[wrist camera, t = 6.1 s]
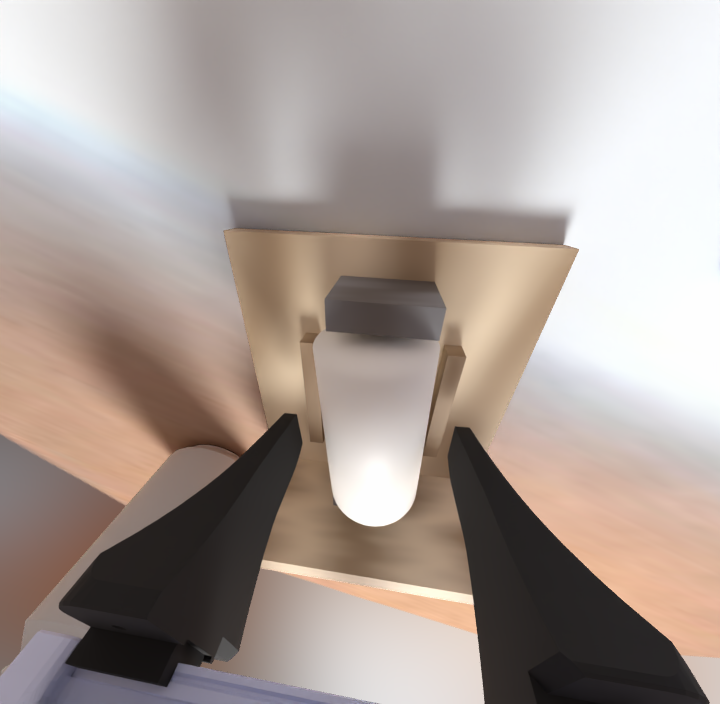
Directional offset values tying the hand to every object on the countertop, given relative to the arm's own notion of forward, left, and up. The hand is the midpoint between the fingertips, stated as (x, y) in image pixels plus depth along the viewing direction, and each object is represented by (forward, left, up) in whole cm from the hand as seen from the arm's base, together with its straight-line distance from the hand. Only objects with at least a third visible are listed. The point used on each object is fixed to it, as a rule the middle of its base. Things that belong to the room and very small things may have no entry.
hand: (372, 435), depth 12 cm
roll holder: (0, 0, -4) cm, 4 cm away
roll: (0, 0, -3) cm, 3 cm away
